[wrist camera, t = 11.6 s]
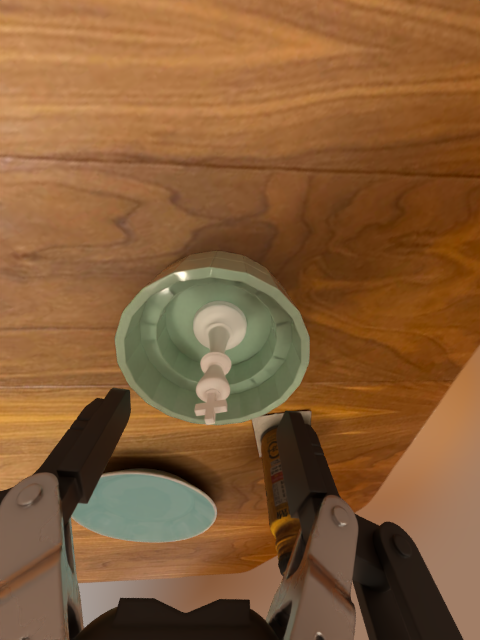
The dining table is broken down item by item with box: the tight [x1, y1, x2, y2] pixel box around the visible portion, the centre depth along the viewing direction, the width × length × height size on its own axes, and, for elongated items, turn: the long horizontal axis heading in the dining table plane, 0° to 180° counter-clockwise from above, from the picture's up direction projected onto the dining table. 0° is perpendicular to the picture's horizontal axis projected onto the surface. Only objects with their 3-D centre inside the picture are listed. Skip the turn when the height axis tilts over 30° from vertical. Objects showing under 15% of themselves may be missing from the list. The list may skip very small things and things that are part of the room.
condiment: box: [252, 411, 311, 577], centre depth 23 cm, size 7×8×12 cm
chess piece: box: [193, 301, 247, 425], centre depth 15 cm, size 5×5×10 cm
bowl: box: [115, 251, 310, 425], centre depth 17 cm, size 13×13×6 cm
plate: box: [71, 468, 217, 542], centre depth 33 cm, size 22×22×3 cm
